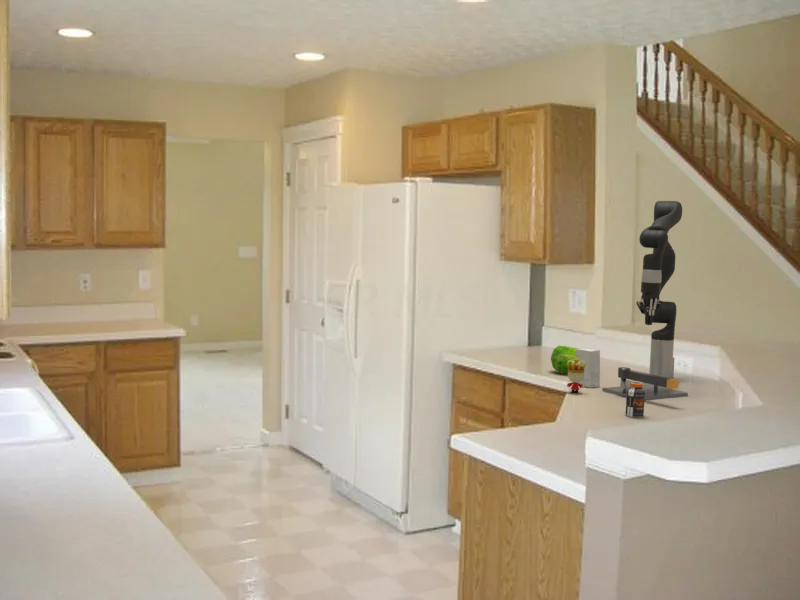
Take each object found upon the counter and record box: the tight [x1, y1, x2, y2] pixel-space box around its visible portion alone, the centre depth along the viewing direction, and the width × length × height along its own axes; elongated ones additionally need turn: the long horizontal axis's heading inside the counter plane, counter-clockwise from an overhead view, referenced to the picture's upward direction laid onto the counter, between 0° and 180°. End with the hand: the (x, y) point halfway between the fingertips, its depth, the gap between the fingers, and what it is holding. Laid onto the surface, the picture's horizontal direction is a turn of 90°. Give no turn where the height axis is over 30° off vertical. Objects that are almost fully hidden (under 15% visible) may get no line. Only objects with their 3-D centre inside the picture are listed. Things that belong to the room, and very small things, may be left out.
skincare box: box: [576, 347, 601, 388], centre depth 353 cm, size 8×6×15 cm
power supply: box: [626, 379, 654, 393], centre depth 339 cm, size 7×9×4 cm
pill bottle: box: [625, 382, 646, 418], centre depth 298 cm, size 6×6×11 cm
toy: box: [566, 355, 586, 394], centre depth 337 cm, size 7×7×15 cm
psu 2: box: [654, 385, 671, 392], centre depth 344 cm, size 7×9×4 cm
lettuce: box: [550, 345, 580, 375], centre depth 383 cm, size 14×20×12 cm
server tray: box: [601, 378, 689, 401], centre depth 341 cm, size 25×20×7 cm
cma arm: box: [617, 366, 679, 390], centre depth 325 cm, size 27×4×4 cm, turn 31°
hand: (648, 324), depth 349 cm, fingers closed
